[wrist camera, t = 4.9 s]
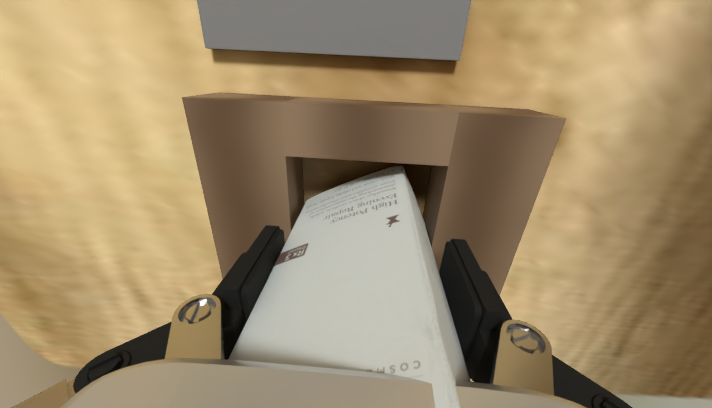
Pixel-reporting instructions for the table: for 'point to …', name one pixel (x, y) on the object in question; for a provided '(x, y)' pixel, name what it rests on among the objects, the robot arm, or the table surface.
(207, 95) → the walnut socket block
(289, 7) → the grey rubber mat
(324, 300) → the skincare box
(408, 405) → the robot arm
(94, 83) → the table surface
